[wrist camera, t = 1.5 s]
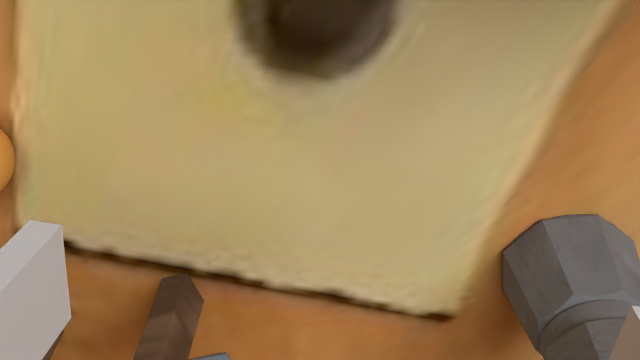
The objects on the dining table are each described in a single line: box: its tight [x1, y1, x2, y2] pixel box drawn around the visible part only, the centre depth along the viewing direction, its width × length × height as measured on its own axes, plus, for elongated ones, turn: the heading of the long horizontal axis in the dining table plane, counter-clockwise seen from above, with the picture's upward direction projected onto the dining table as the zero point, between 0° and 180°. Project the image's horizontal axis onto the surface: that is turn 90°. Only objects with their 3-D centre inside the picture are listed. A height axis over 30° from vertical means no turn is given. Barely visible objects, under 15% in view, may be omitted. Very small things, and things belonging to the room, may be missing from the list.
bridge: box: [42, 273, 204, 360], centre depth 44 cm, size 3×14×9 cm, turn 109°
